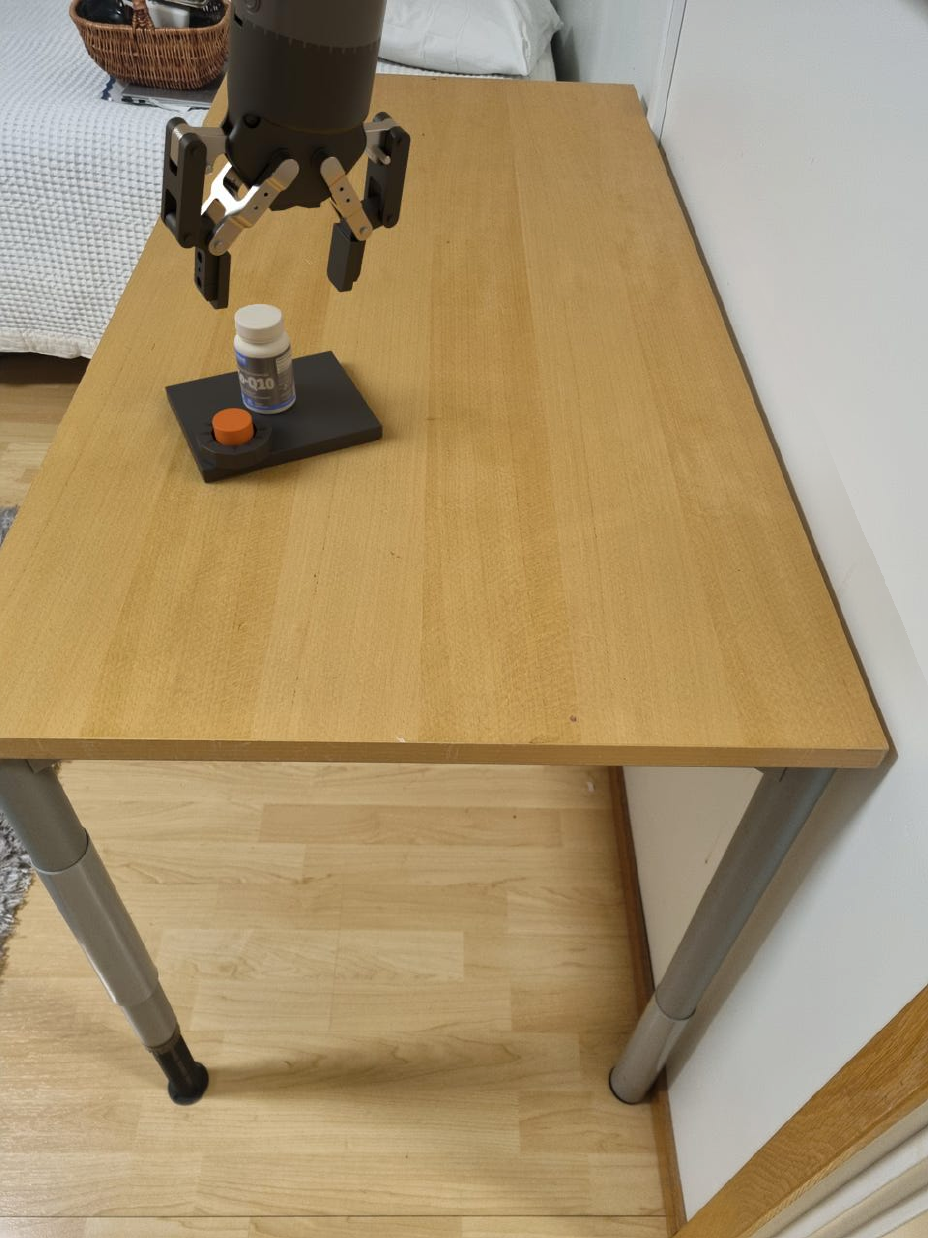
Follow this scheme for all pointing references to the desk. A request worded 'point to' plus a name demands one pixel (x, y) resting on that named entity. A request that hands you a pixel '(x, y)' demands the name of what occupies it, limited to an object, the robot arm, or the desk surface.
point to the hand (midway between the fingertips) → (278, 293)
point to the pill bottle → (264, 359)
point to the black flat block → (275, 419)
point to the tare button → (233, 426)
